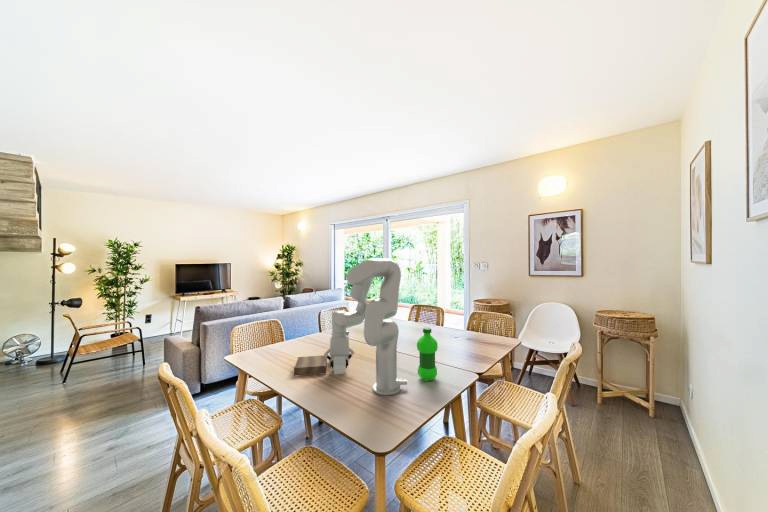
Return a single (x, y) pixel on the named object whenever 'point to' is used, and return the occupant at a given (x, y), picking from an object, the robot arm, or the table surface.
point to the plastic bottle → (427, 355)
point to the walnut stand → (310, 365)
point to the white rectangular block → (339, 364)
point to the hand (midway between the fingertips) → (339, 367)
